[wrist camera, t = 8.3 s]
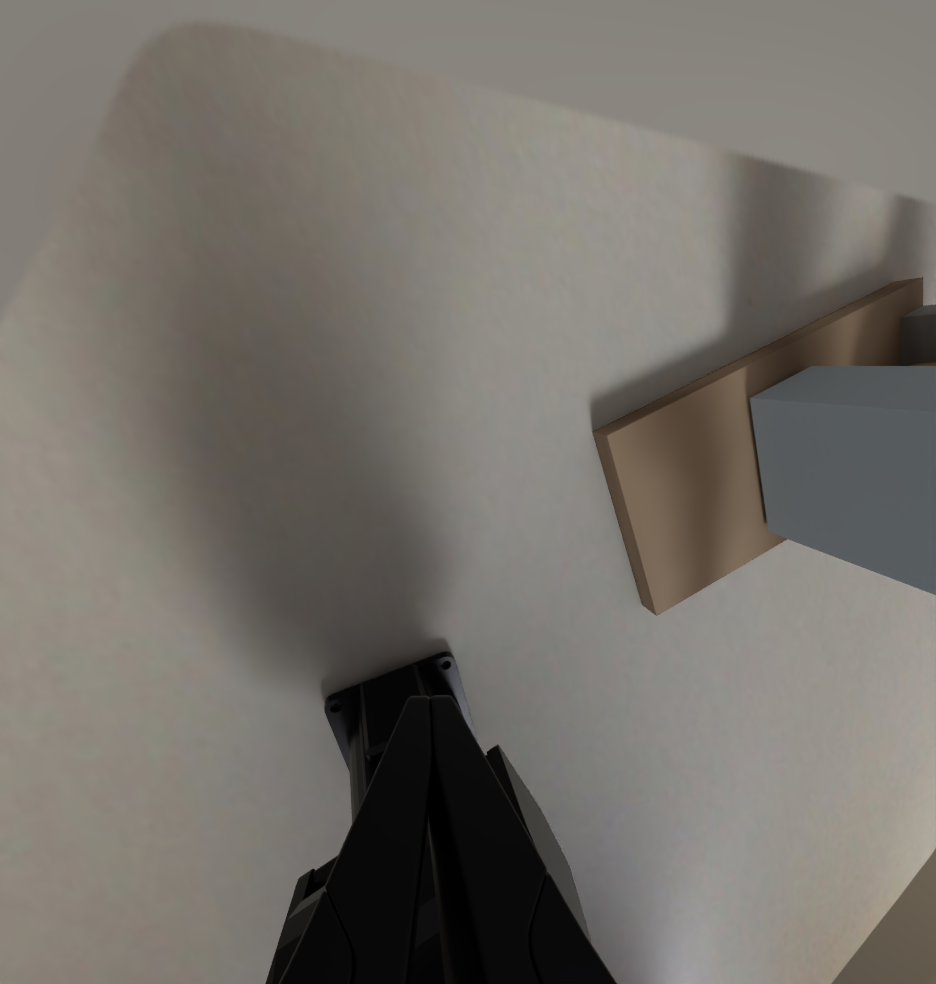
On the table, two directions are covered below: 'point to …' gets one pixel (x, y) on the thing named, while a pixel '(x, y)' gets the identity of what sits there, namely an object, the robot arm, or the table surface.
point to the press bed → (733, 445)
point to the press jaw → (854, 465)
